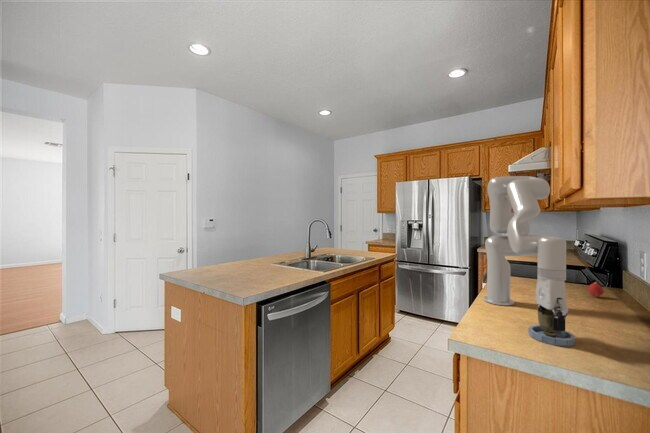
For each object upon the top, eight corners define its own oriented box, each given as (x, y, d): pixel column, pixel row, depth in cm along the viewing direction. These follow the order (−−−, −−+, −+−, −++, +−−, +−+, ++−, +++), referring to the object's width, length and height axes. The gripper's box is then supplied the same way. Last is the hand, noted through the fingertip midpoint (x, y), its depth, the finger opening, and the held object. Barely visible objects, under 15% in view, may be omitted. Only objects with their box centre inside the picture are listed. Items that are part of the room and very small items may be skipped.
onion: (584, 296, 146) (584, 280, 146) (593, 295, 147) (593, 280, 147) (597, 299, 141) (597, 283, 141) (606, 298, 142) (606, 282, 142)
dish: (522, 329, 102) (522, 323, 102) (561, 333, 99) (562, 327, 99) (539, 344, 90) (539, 337, 90) (583, 348, 87) (583, 341, 87)
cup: (545, 339, 92) (546, 315, 91) (531, 329, 99) (532, 307, 99) (570, 341, 91) (571, 316, 91) (554, 331, 98) (555, 308, 98)
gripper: (527, 268, 104) (526, 314, 104) (552, 278, 87) (551, 334, 87) (550, 269, 102) (550, 316, 102) (580, 280, 85) (580, 336, 86)
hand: (550, 324), depth 95 cm, fingers open, 9 cm apart
